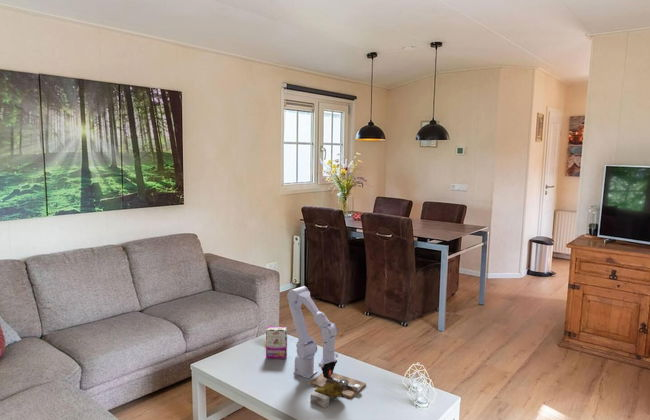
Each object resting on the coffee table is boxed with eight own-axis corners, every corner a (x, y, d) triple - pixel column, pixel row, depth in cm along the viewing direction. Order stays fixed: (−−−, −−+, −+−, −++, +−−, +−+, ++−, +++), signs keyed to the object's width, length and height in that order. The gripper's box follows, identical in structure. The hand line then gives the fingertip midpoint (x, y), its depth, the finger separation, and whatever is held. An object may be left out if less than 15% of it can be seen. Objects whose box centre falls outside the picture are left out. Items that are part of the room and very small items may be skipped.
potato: (321, 390, 217) (321, 374, 216) (345, 398, 211) (346, 382, 210) (312, 398, 210) (312, 382, 209) (337, 406, 203) (337, 389, 202)
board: (293, 396, 211) (293, 387, 211) (325, 372, 235) (325, 364, 234) (336, 412, 199) (336, 403, 199) (365, 385, 223) (366, 377, 222)
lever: (361, 388, 217) (361, 377, 216) (356, 392, 213) (357, 381, 213) (327, 377, 227) (327, 367, 226) (322, 381, 223) (323, 370, 222)
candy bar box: (287, 355, 253) (287, 326, 251) (286, 359, 248) (286, 330, 246) (267, 354, 254) (267, 326, 252) (265, 358, 249) (265, 329, 247)
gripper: (327, 356, 214) (327, 384, 216) (343, 346, 226) (342, 372, 228) (315, 352, 218) (314, 379, 219) (331, 342, 230) (330, 368, 232)
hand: (328, 375), depth 224 cm, fingers open, 3 cm apart
